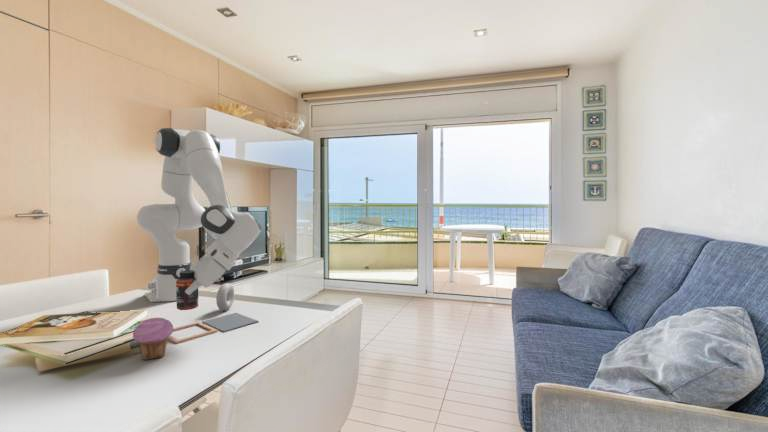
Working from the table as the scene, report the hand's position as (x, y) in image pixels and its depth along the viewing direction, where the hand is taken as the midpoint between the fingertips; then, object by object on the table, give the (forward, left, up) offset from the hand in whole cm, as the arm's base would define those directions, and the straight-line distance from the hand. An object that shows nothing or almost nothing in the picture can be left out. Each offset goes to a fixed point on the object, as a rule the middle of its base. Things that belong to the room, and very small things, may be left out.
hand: (185, 290), depth 109 cm
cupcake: (+10, -12, -13) cm, 21 cm away
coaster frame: (0, +1, -13) cm, 13 cm away
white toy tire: (-13, +20, -13) cm, 27 cm away
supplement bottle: (0, +1, -6) cm, 6 cm away
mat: (+1, +14, -13) cm, 19 cm away
